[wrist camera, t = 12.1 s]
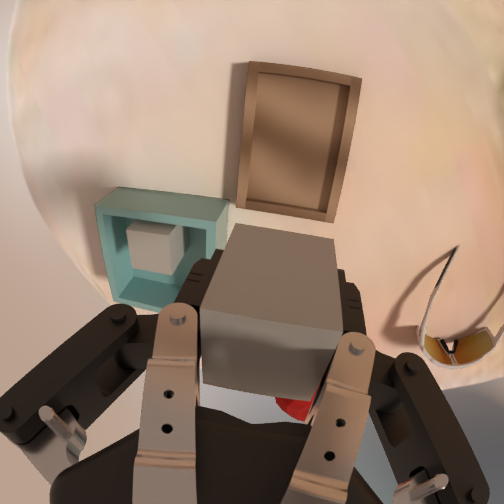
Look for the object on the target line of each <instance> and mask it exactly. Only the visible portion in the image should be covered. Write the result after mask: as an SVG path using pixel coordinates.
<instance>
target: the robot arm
mask: <svg viewBox="0 0 504 504" xmlns="http://www.w3.org/2000/svg"><path fill="white" fill-rule="evenodd" d="M223 252H224V250H222V249H215V251H214V253H213V255H212V257H211V259H205V258H201V259H200V260H199V261H197V262H196V263H194V264H193V266H192V268H191V270H190V272H189V274H188V276H187V278H186V280H185V282H184V283H183V285H182V287H181V289H180V291H179V293H178V295H177V297H176V299H175V301H174V303H172V304H169V305H167V306H165V307H164V308H163V309H162V310H161V311H160V313H159V314H154V315H137V314H136V311H135V309H134V308H133V307H131V306H130V305H127V304H114V305H111V306H109V307H108V308H106V309H105V310H104V311H102V312H101V313H100V314H98V315H97V316H96V317H95V318H93V319H92V320H91V321H90V322H89V323H87V324H86V325H85V326H84V327H82V328H81V329H80V330H79V331H77V332H76V333H75V334H74V335H73V336H71V337H70V338H69V339H68V340H66V341H65V342H64V343H63V344H62V345H60V346H59V347H58V348H57V349H56V350H54V351H53V352H52V353H51V354H50V355H48V357H46V358H45V359H44V360H43V361H41V362H40V363H39V364H38V365H37V366H36V367H35V368H33V369H32V370H31V371H30V372H28V373H27V374H26V375H25V376H24V377H23V378H22V379H21V380H19V381H18V382H17V383H16V384H15V385H14V386H13V387H11V388H10V389H9V390H8V391H7V392H6V393H5V394H4V395H3V396H1V397H0V432H1V433H3V434H4V435H5V436H6V437H7V438H8V439H9V440H10V441H11V442H12V443H13V444H15V445H16V446H17V447H18V448H20V449H21V450H22V451H23V453H24V454H25V455H26V456H27V458H28V459H29V460H30V461H31V463H32V464H33V465H34V466H35V467H36V469H37V470H38V471H39V472H40V473H41V474H42V476H43V477H44V478H45V479H46V480H47V481H48V482H49V483H50V484H51V485H52V486H51V489H50V504H383V503H382V502H381V500H380V499H379V498H378V496H377V495H376V494H375V493H374V491H373V490H372V489H371V488H370V486H369V485H368V484H367V482H366V481H365V480H364V479H363V477H362V476H361V475H360V473H359V472H358V471H357V469H356V468H355V467H354V465H355V461H356V458H357V454H358V451H359V447H360V444H361V440H362V436H363V432H364V428H365V424H366V420H367V416H368V412H369V414H370V417H371V419H372V421H373V424H374V426H375V429H376V431H377V433H378V436H379V438H380V441H381V443H382V445H383V448H384V450H385V453H386V455H387V458H388V460H389V463H390V465H391V468H392V470H393V473H394V475H395V478H396V480H397V483H398V487H397V488H396V490H395V491H394V495H393V502H392V503H393V504H487V502H488V500H489V494H490V492H489V486H488V484H487V481H486V479H485V477H484V474H483V472H482V470H481V468H480V465H479V463H478V461H477V459H476V457H475V455H474V452H473V450H472V448H471V446H470V444H469V442H468V440H467V438H466V436H465V434H464V432H463V430H462V428H461V426H460V424H459V422H458V420H457V418H456V417H455V415H454V413H453V411H452V409H451V407H450V405H449V404H448V402H447V400H446V398H445V396H444V394H443V393H442V391H441V389H440V387H439V385H438V384H437V382H436V380H435V378H434V377H433V375H432V373H431V371H430V370H429V368H428V366H427V365H426V363H425V362H424V360H423V359H422V358H421V357H419V356H418V355H416V354H414V353H410V352H405V353H401V354H400V355H398V356H397V358H396V359H395V358H393V357H390V356H387V355H385V354H382V353H380V352H379V351H377V350H376V349H375V345H374V343H373V342H372V340H371V339H370V338H369V337H367V334H366V327H365V321H364V314H363V310H362V303H361V296H360V292H359V290H358V289H357V287H356V286H355V284H354V283H349V282H346V279H345V272H344V270H342V269H337V271H338V280H339V289H340V299H341V310H342V321H343V334H342V336H341V338H340V340H339V343H338V345H337V347H336V349H335V351H334V354H333V356H332V358H331V360H330V362H329V364H328V366H327V369H326V371H325V373H324V375H323V377H322V379H321V381H320V383H319V385H318V388H317V391H316V394H315V396H314V399H313V402H312V404H311V407H310V409H309V412H308V415H307V417H306V419H305V422H304V424H300V423H291V422H277V423H264V424H250V423H248V422H245V421H243V420H241V419H238V418H236V417H233V416H231V415H229V414H227V413H225V412H222V411H219V410H215V409H210V408H206V407H201V406H200V358H201V355H202V353H201V330H200V306H201V304H202V301H203V299H204V296H205V294H206V292H207V289H208V287H209V284H210V282H211V280H212V277H213V275H214V273H215V270H216V268H217V266H218V263H219V261H220V259H221V256H222V254H223ZM145 369H146V375H145V383H144V392H143V400H142V410H141V419H140V428H139V429H138V430H136V431H134V432H133V433H131V434H129V435H127V436H126V437H124V438H122V439H120V440H119V441H117V442H115V443H113V444H111V445H110V446H108V447H106V448H104V449H102V450H101V451H99V452H97V453H95V454H93V455H91V456H89V457H87V458H85V459H84V460H82V461H80V462H79V454H80V452H81V451H82V450H83V449H84V446H85V444H86V440H87V436H86V432H85V430H86V429H87V428H88V427H89V426H90V425H91V424H92V423H93V422H94V421H95V420H96V419H97V418H98V417H99V416H100V415H101V414H102V413H103V412H104V411H105V410H106V409H107V408H108V407H109V406H110V405H111V404H112V403H113V402H114V401H115V400H116V399H117V398H118V397H119V396H120V395H121V394H122V393H123V392H124V391H125V390H126V389H127V388H128V387H129V386H130V385H131V384H132V383H133V382H134V381H135V380H136V379H137V378H138V377H139V376H140V375H141V374H142V373H143V372H144V371H145Z"/></svg>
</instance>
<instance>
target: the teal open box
mask: <svg viewBox="0 0 504 504" xmlns="http://www.w3.org/2000/svg"><path fill="white" fill-rule="evenodd" d="M228 206H229V200H227V199H219V198H212V197H204V196H196V195H188V194H180V193H172V192H163V191H154V190H145V189H135V188H125V187H118V188H117V189H115V190H114V191H112V192H111V193H110V194H108V195H107V196H106V197H105V198H103V199H102V200H101V201H99V202H98V203H97V204H95V212H96V219H97V225H98V231H99V236H100V242H101V247H102V252H103V257H104V262H105V267H106V271H107V276H108V280H109V285H110V289H111V293H112V297H113V301H115V302H118V303H122V304H127V305H130V306H134V307H138V308H142V309H146V310H150V311H154V312H158V313H160V311H161V310H162V309H163V308H164V307H165V306H167V305H169V304H172V303H174V301H175V299H176V297H177V295H178V293H179V291H180V289H181V287H182V285H183V283H184V282H185V280H186V278H187V276H188V274H189V272H190V270H191V268H192V266H193V264H194V263H196V262H197V261H199V260H200V259H201V258H205V259H211V257H212V255H213V253H214V251H215V249H222V250H224V249H225V247H226V239H227V222H228ZM136 219H140V220H147V221H154V222H160V223H167V224H174V225H181V226H187V227H189V238H190V246H189V248H188V250H187V251H186V253H185V254H184V256H183V258H182V259H181V261H180V263H179V264H178V266H177V268H176V269H175V271H174V273H173V275H167V274H162V273H156V272H151V271H146V270H140V269H135V268H132V264H131V258H130V252H129V246H128V239H127V233H126V229H127V228H128V227H129V226H130V225H131V224H132V223H133V222H134V221H135V220H136Z"/></svg>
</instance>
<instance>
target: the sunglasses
mask: <svg viewBox="0 0 504 504" xmlns="http://www.w3.org/2000/svg"><path fill="white" fill-rule="evenodd" d="M459 247H460V245H458V246H457V247H456V248H455V250H454V251H453V252H452V254H451V255H450V257H449V259H448V261H447V263H446V265H445V267H444V269H443V271H442V273H441V275H440V278H439V280H438V282H437V284H436V286H435V288H434V290H433V292H432V293H431V295H430V299H429V302H428V306H427V309H426V312H425V315H424V318H423V320H422V323H421V325H420V327H419V326H418V327H417V328H416V336H417V340H418V344H419V346H420V348H421V350H422V352H423V353H424V355H425V356H426V357H427V358H428V359H429V360H430V361H431V362H432V363H433V364H435V365H437V366H439V367H442V368H445V369H462V368H466V367H469V366H472V365H475V364H477V363H479V362H480V361H482V360H483V359H484V358H485V357H486V356H488V355H489V354H490V353H491V352H493V351H494V349H495V348H496V345H497V344H498V342H499V341H500V339H501V338H502V336H503V335H504V325H503V326H502V327H501V328H500V330H499V331H498V333H497V335H496V336H495V338H494V336H493V334H492V333H491V331H490V330H489V329H488V327H485V328H483V329H482V330H480V331H478V332H476V333H474V334H473V335H470V336H468V337H465V338H461V339H455V340H454V344H453V347H452V351H449V349H448V347H447V345H446V343H445V341H444V339H441V340H440V339H434V338H432V337H429V336H428V335H427V334H426V333H425V330H426V323H427V319H428V315H429V311H430V308H431V305H432V303H433V300H434V298H435V296H436V294H437V292H438V290H439V288H440V286H441V284H442V281H443V279H444V277H445V275H446V273H447V271H448V269H449V267H450V265H451V263H452V261H453V259H454V257H455V255H456V253H457V251H458V249H459Z"/></svg>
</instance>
